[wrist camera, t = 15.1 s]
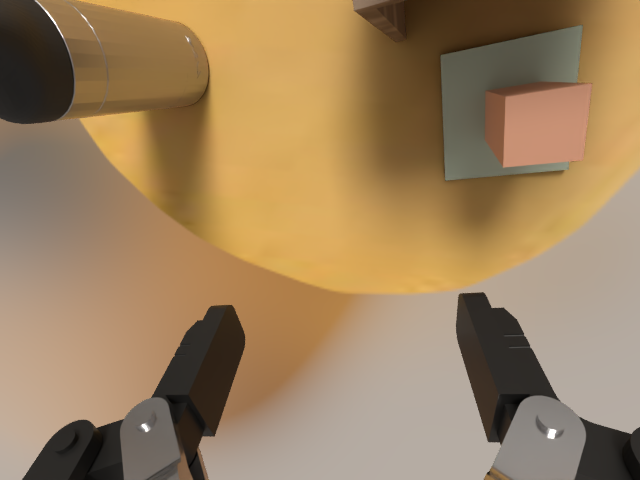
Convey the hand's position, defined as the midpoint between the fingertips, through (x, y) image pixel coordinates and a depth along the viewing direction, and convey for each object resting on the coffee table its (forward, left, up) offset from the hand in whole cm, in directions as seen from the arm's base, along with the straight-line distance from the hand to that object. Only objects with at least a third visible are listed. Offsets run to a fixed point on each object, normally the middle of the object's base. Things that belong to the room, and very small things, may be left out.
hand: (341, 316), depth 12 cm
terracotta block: (+10, +3, -28) cm, 30 cm away
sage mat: (+9, +3, -29) cm, 30 cm away
